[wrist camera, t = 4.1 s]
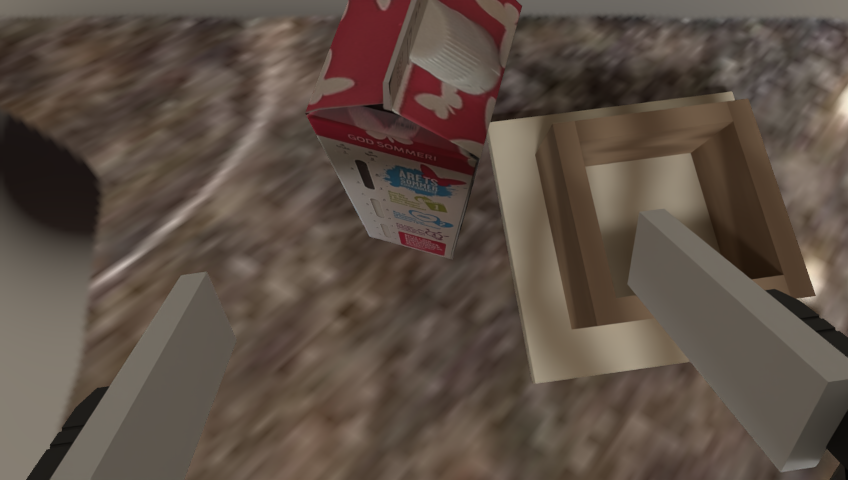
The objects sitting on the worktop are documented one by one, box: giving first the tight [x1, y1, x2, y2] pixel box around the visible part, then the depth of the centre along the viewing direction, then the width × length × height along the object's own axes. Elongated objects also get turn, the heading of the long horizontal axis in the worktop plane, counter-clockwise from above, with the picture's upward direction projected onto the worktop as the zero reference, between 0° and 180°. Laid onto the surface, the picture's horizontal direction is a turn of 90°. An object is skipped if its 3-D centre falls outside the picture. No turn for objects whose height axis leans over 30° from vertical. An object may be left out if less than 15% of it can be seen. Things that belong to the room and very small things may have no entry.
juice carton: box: [305, 0, 522, 259], centre depth 24 cm, size 7×7×22 cm
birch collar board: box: [487, 92, 816, 384], centre depth 32 cm, size 20×20×6 cm
